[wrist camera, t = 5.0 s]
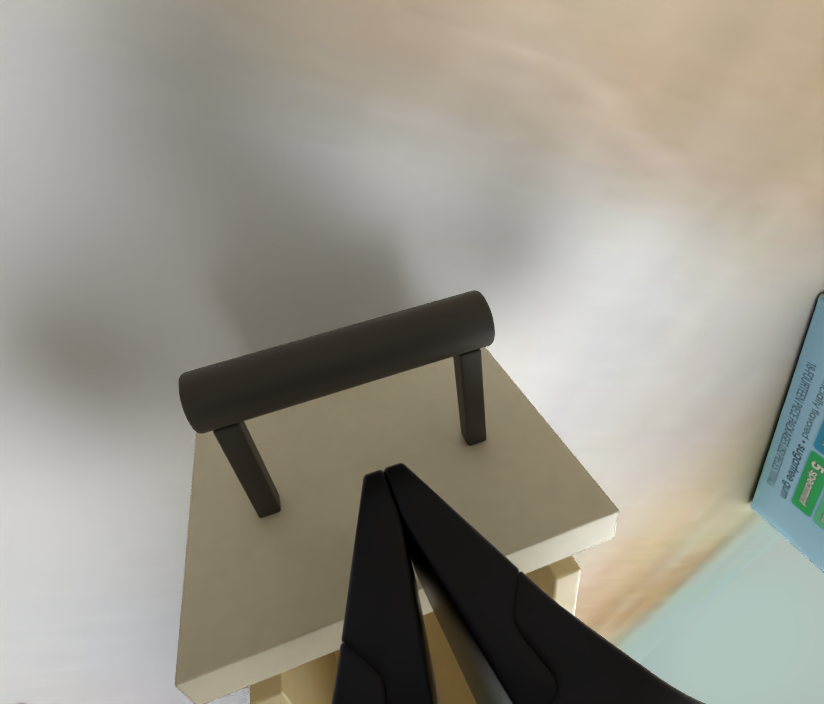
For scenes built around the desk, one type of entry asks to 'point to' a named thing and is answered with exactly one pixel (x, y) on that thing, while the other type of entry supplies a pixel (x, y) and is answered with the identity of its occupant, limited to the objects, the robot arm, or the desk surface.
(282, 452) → the drawer
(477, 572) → the robot arm
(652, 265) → the desk surface
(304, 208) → the desk surface
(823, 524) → the gum box
